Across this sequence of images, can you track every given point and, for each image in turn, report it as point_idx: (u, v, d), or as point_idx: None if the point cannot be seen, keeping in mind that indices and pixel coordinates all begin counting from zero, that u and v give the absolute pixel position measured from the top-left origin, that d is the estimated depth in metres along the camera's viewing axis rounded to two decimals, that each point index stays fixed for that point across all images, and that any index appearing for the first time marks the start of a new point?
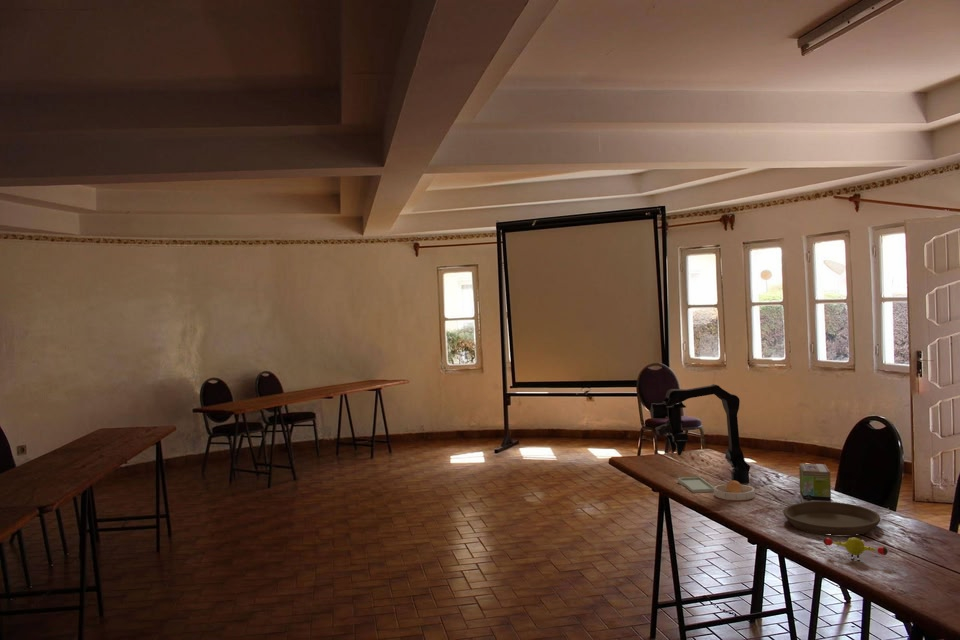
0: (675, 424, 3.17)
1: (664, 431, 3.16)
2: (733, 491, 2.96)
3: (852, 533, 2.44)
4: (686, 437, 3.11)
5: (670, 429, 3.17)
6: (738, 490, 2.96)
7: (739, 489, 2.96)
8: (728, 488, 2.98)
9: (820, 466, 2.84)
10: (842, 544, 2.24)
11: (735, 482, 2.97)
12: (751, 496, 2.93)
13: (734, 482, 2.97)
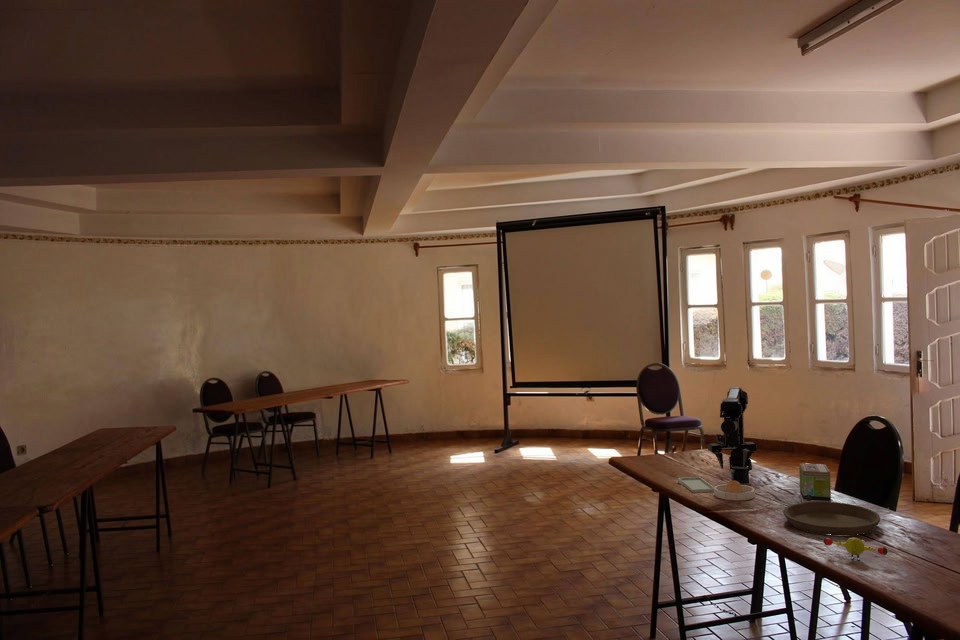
0: (724, 436, 2.99)
1: (716, 440, 3.05)
2: (733, 491, 2.96)
3: (852, 533, 2.44)
4: (711, 449, 2.97)
5: (722, 440, 3.02)
6: (738, 490, 2.96)
7: (739, 489, 2.96)
8: (728, 488, 2.98)
9: (820, 466, 2.84)
10: (842, 544, 2.24)
11: (735, 482, 2.97)
12: (751, 496, 2.93)
13: (734, 482, 2.97)
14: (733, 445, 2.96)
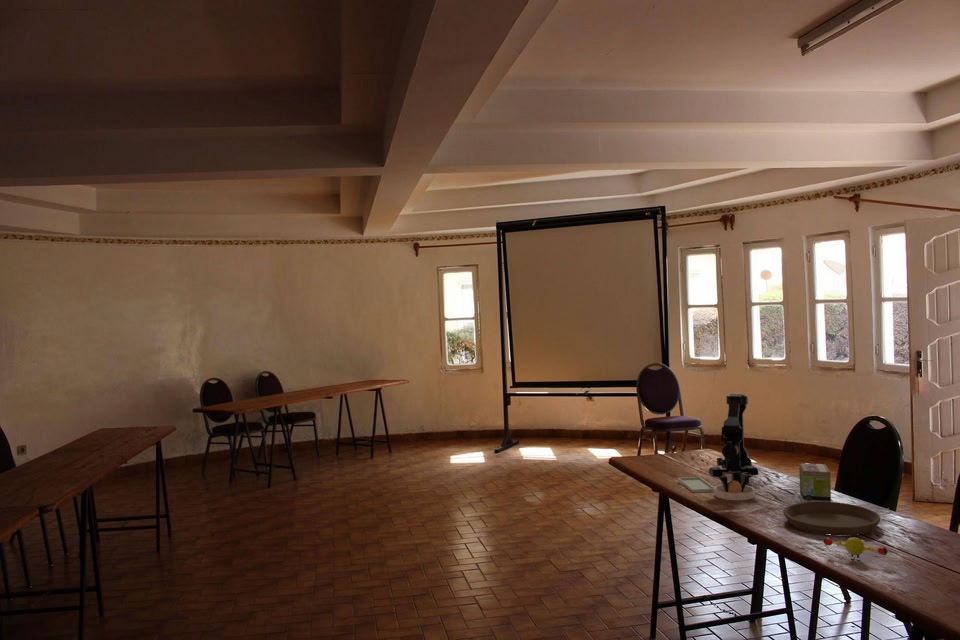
0: (725, 460, 2.99)
1: (717, 463, 3.05)
2: (733, 491, 2.96)
3: (852, 533, 2.44)
4: (712, 473, 2.97)
5: (723, 464, 3.02)
6: (738, 490, 2.96)
7: (739, 489, 2.96)
8: (728, 488, 2.98)
9: (820, 466, 2.84)
10: (842, 544, 2.24)
11: (735, 482, 2.97)
12: (751, 496, 2.93)
13: (734, 482, 2.97)
14: (734, 469, 2.96)
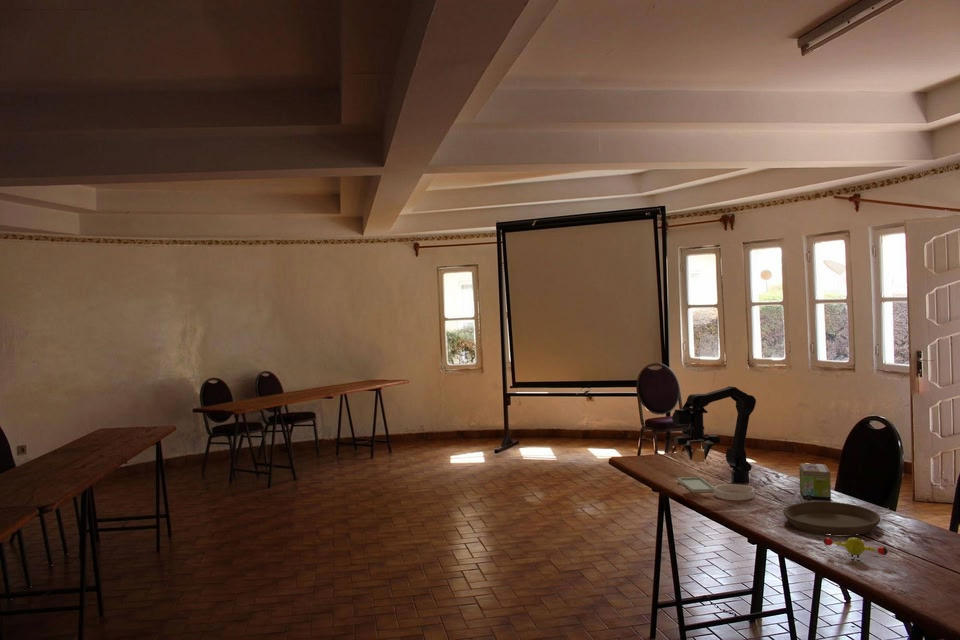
0: (690, 429, 3.16)
1: (682, 433, 3.21)
2: (697, 458, 3.13)
3: (852, 533, 2.44)
4: (677, 441, 3.13)
5: (688, 433, 3.18)
6: (701, 457, 3.12)
7: (702, 456, 3.13)
8: (692, 456, 3.14)
9: (820, 466, 2.84)
10: (842, 544, 2.24)
11: (699, 450, 3.14)
12: (751, 496, 2.93)
13: (698, 450, 3.14)
14: (698, 437, 3.12)
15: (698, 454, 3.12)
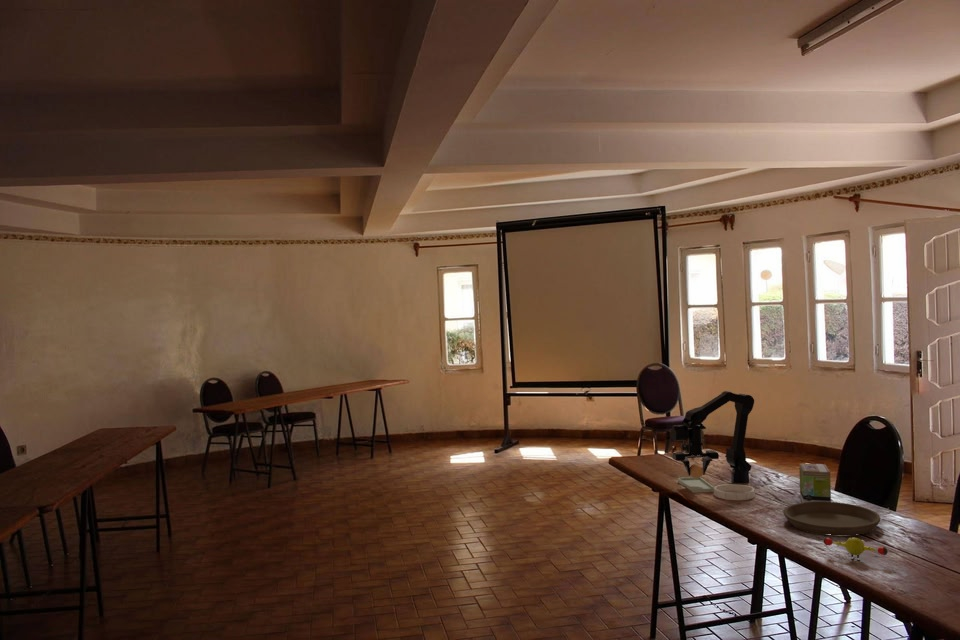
0: (688, 445, 3.17)
1: (681, 448, 3.23)
2: (695, 474, 3.14)
3: (852, 533, 2.44)
4: (675, 457, 3.14)
5: (686, 448, 3.19)
6: (699, 473, 3.14)
7: (701, 472, 3.14)
8: (690, 471, 3.16)
9: (820, 466, 2.84)
10: (842, 544, 2.24)
11: (697, 466, 3.15)
12: (751, 496, 2.93)
13: (696, 466, 3.15)
14: (696, 453, 3.14)
15: (696, 470, 3.14)
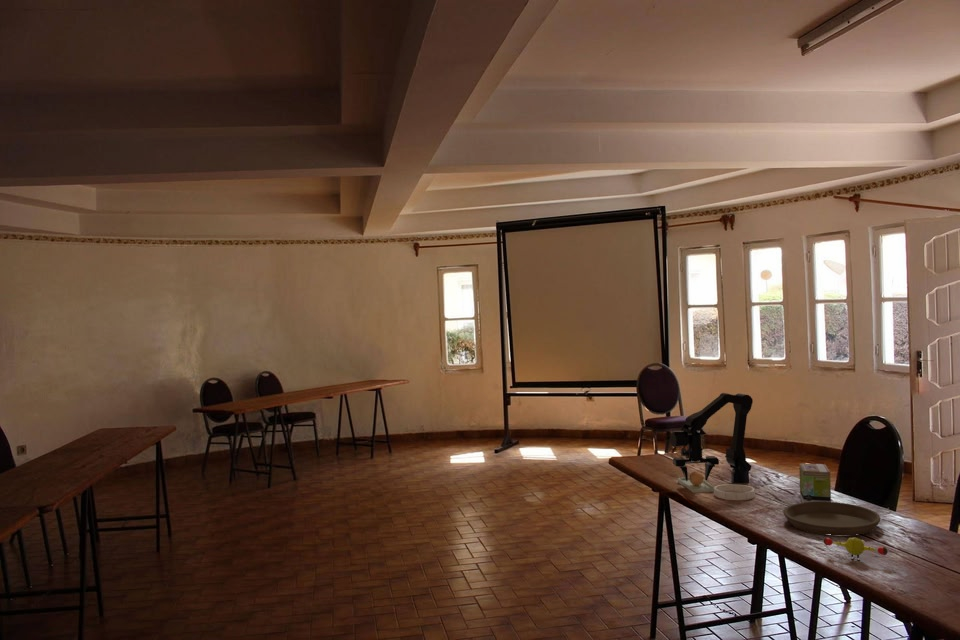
0: (688, 450, 3.17)
1: (681, 454, 3.23)
2: (695, 481, 3.14)
3: (852, 533, 2.44)
4: (675, 463, 3.14)
5: (687, 454, 3.19)
6: (700, 480, 3.14)
7: (701, 480, 3.14)
8: (691, 479, 3.16)
9: (820, 466, 2.84)
10: (842, 544, 2.24)
11: (697, 473, 3.15)
12: (751, 496, 2.93)
13: (696, 473, 3.15)
14: (696, 459, 3.14)
15: (696, 477, 3.14)
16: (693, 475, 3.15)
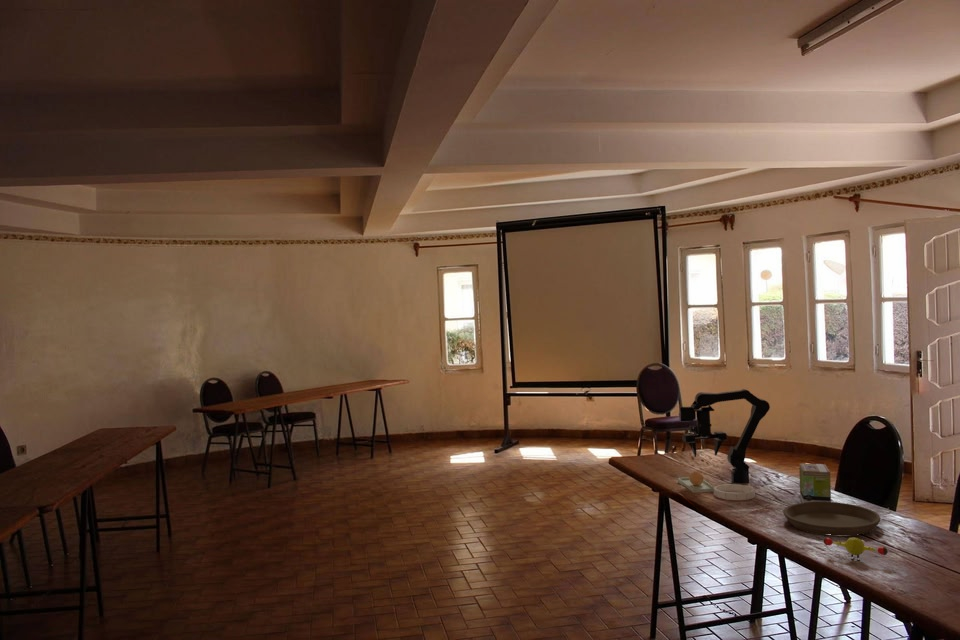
0: (697, 426, 3.23)
1: (690, 430, 3.29)
2: (695, 481, 3.14)
3: (852, 533, 2.44)
4: (685, 438, 3.20)
5: (695, 430, 3.26)
6: (700, 480, 3.14)
7: (701, 480, 3.14)
8: (691, 478, 3.16)
9: (820, 466, 2.84)
10: (842, 544, 2.24)
11: (697, 473, 3.15)
12: (751, 496, 2.93)
13: (696, 473, 3.15)
14: (705, 435, 3.20)
15: (696, 477, 3.14)
16: (693, 475, 3.15)
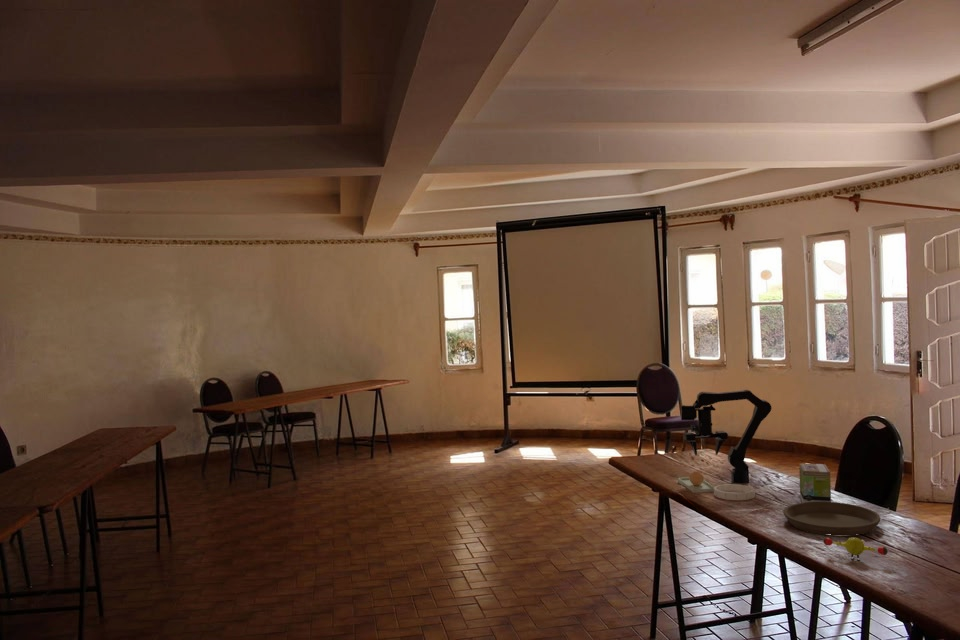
0: (698, 425, 3.24)
1: (691, 429, 3.30)
2: (695, 481, 3.14)
3: (852, 533, 2.44)
4: (686, 437, 3.21)
5: (696, 429, 3.26)
6: (700, 480, 3.14)
7: (701, 480, 3.14)
8: (691, 478, 3.16)
9: (820, 466, 2.84)
10: (842, 544, 2.24)
11: (697, 473, 3.15)
12: (751, 496, 2.93)
13: (696, 473, 3.15)
14: (706, 434, 3.21)
15: (697, 477, 3.14)
16: (693, 475, 3.15)
